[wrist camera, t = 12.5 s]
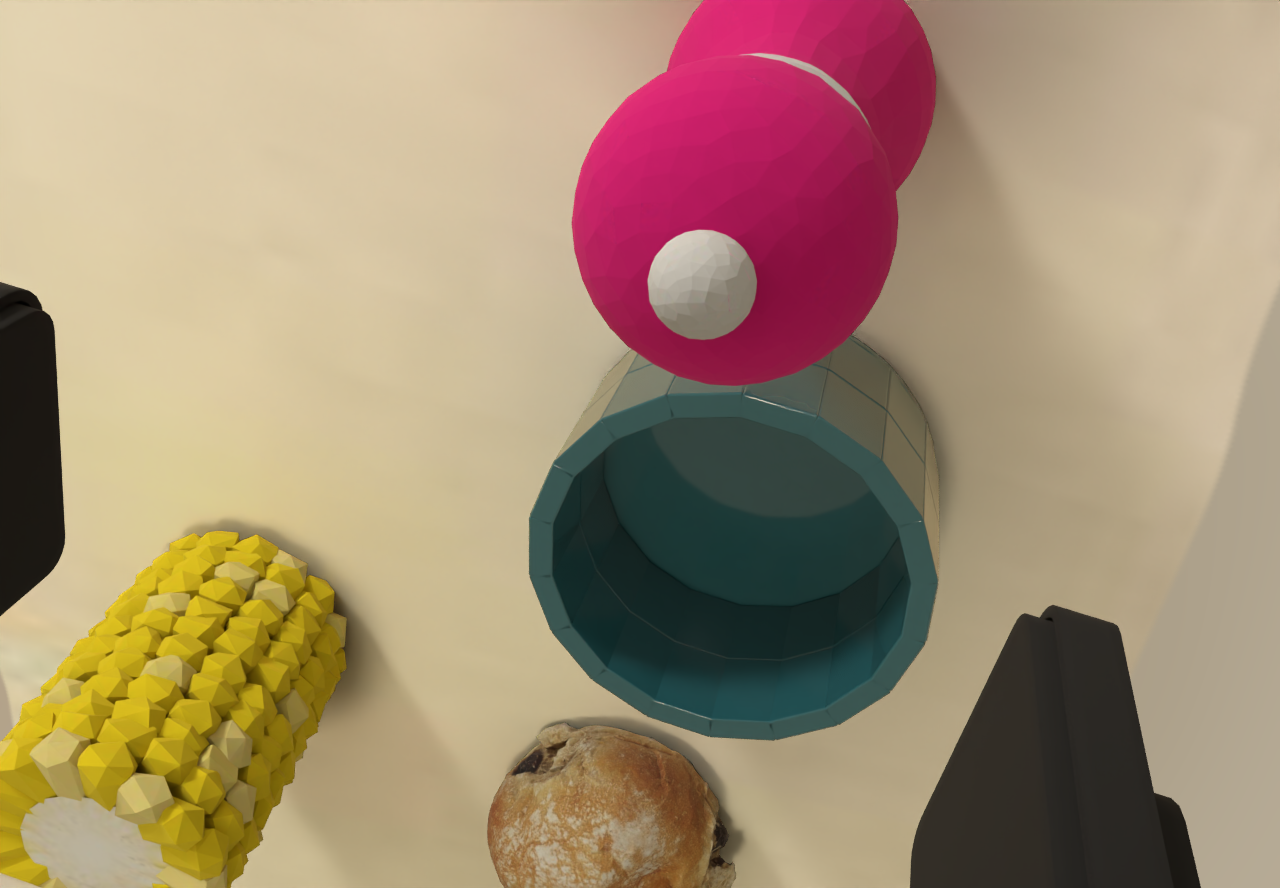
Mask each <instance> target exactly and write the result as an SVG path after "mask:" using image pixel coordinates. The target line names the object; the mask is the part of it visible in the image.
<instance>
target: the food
mask: <svg viewBox="0 0 1280 888" xmlns="http://www.w3.org/2000/svg"><path fill="white" fill-rule="evenodd" d="M307 566H308V564H307V563H305V562H303V561H301V560H299V559H297V558H295V557H293V556H291V555H289V554H287V553H286V552H284V551H282V550H280V549H278V547H277V546H275V545H273V544H272V543H270V542H268V541H267V540H265V539H263V538H262V537H260V536H259V535H254V536H252V537H249V538H247V539H244V540H241V541H239V533H235V532H225V531H214V532H207V533H206V534H205V535H204V536H203V537H202V538H201V537H200V536H198V535H196V534H194V533H193V534H191V535H189V536H186V537H184V538H182V539H179V540H177V541H175V542H172V543H170V552H165V553H164V554H162V555H161V556H159V557H158V558H156V559H155V560H153V565H152V566H150V567H147V568H146V569H144V570H143V571H142V572H140V573H139V574H137V576H136V581H135V584H134V585H133V586H132V587H130V588H129V589H128V590H126V591H125V592H124V593H122V594H121V595H119V597H118V600H117V601H116V602H115V603H114V604H113V605H112V606H111V607H110V608H109V609H108V610H107V611H106V612H105V616H106V619H104V620H103V621H101V622H100V623H98V624H97V625H95V626H94V627H93V628H92V629H90V630H89V637H88V638H84V639H81V640H78V641H77V643H76V644H75V646H74V648H73V649H72V651H71V653H70V656H69V657H67V658H66V659H65V660H64V661H63V662H62V664H61V665H60V666H59V667H58V668H57V674H55V675H54V676H53V677H52V678H51V679H50V680H49V681H47V682H46V683H45V684H44V685H43V686H42V687H41V693H42V695H41V696H39V697H37V698H35V699H33V700H31V701H29V702H26V703H24V704H23V705H22V710H21V715H20V721H19V722H18V723H17V724H16V726H15V727H14V728H13V729H12V730H11V731H10V732H9V734H7V736H6V737H5V738H4V739H3V740H2V741H1V742H0V873H2V874H5V875H8V876H10V877H13V878H16V879H19V880H22V881H24V882H27V883H30V884H33V885H36V886H39V887H41V888H231V883H232V881H234V880H235V879H236V878H238V877H239V876H240V875H242V874H243V871H244V866H245V864H246V863H247V862H248V858H247V855H246V854H248V853H249V852H251V851H252V850H253V849H255V848H256V847H258V846H259V845H260V842H261V841H262V840H263V837H262V832H261V830H263V828H264V826H265V824H266V822H267V819H268V817H269V815H270V813H271V810H272V808H273V807H275V806H277V805H278V804H280V801H281V796H282V791H283V786H285V785H288V784H290V783H292V782H293V779H294V774H295V762H297V761H298V760H300V759H301V758H303V752H304V750H305V749H307V744H306V739H308V738H309V737H311V736H312V735H314V734H315V733H317V732H318V729H317V728H318V727H319V726H318V722H320V719H321V716H322V713H323V710H324V707H325V704H326V703H327V701H328V700H329V699H330V698H331V695H332V693H333V692H334V691H335V685H336V684H337V683H338V682H339V680H340V679H341V676H340V673H342V672H343V671H344V670H346V669H347V666H346V659H345V652H344V650H343V649H342V647H345V635H346V619H347V618H345V617H343V616H341V615H338V614H336V613H334V612H333V606H334V595H335V592H334V591H333V589H332V588H331V587H330V585H329V584H328V583H327V581H325V580H323V579H320V578H317V577H314V576H311V575H309V576H307V577H306V574H307Z"/></svg>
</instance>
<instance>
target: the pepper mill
mask: <svg viewBox="0 0 1280 888" xmlns="http://www.w3.org/2000/svg"><path fill="white" fill-rule="evenodd" d="M935 96H936V75H935V70H934V64H933V59H932V54H931V49H930V47H929V44H928V41H927V39H926V36H925V33H924V31H923V29H922V27H921V25H920V24H919V22H918V20H917V18H916V17H915V15H914V13H913V11H912V10H911V9H910V8H909V6H908V5H907V4H906V3H905V2H904V1H903V0H704V1H703V2H702V3H701V5H700V6H699V7H698V8H697V9H696V11H695V12H694V13H693V15H692V16H691V18H690V20H689V21H688V23H687V25H686V26H685V28H684V30H683V31H682V33H681V35H680V37H679V38H678V40H677V43H676V45H675V48H674V50H673V52H672V55H671V57H670V61H669V65H668V69H667V72H665V73H663V74H661V75H659V76H657V77H656V78H654V79H653V80H651V81H650V82H649V83H647V84H646V85H644V86H643V87H641V88H640V89H639V90H637V91H636V92H634V93H633V94H631V95H630V96H629V97H627V99H626V100H625V101H624V102H623V103H622V104H621V106H620V107H619V108H618V109H617V110H616V111H615V112H614V114H613V115H612V116H611V117H610V118H609V119H608V121H607V122H606V124H605V125H604V126H603V128H602V129H601V131H600V132H599V134H598V135H597V137H596V138H595V139H594V141H593V143H592V145H591V147H590V149H589V152H588V154H587V156H586V158H585V160H584V163H583V165H582V168H581V172H580V176H579V180H578V184H577V188H576V192H575V200H574V208H573V217H572V230H573V240H574V250H575V254H576V258H577V261H578V265H579V269H580V272H581V276H582V280H583V282H584V284H585V286H586V289H587V291H588V293H589V295H590V297H591V299H592V302H593V304H594V306H595V307H596V308H597V310H598V311H599V313H600V314H601V316H602V317H603V318H604V320H605V321H606V323H607V324H608V326H609V327H610V328H611V329H612V330H613V331H614V332H615V333H616V334H617V336H618V337H619V338H620V339H621V340H622V341H623V342H624V343H625V344H626V345H627V346H628V347H630V348H631V349H632V350H634V351H635V352H637V353H638V354H639V355H641V356H642V357H644V358H645V359H646V360H648V361H649V362H651V363H652V364H654V365H656V366H658V367H660V368H662V369H664V370H666V371H668V372H670V373H672V374H674V375H676V376H678V377H682V378H686V379H690V380H694V381H697V382H701V383H705V384H711V385H727V386H740V385H748V384H757V383H763V382H767V381H770V380H774V379H777V378H781V377H784V376H787V375H791V374H794V373H797V372H799V371H800V370H802V369H804V368H806V367H808V366H810V365H811V364H813V363H815V362H817V361H819V360H821V359H822V358H824V357H825V356H826V355H828V354H829V353H830V352H832V351H833V350H834V349H836V348H837V347H838V346H840V345H841V344H842V343H844V342H845V340H846V339H847V338H848V337H849V336H850V335H851V334H852V333H853V332H854V330H855V329H856V328H857V327H858V326H859V325H860V324H861V323H862V321H863V320H864V319H865V318H866V316H867V314H868V313H869V311H870V310H871V308H872V307H873V305H874V304H875V302H876V300H877V299H878V297H879V295H880V293H881V290H882V288H883V285H884V283H885V280H886V278H887V276H888V273H889V270H890V266H891V262H892V259H893V255H894V251H895V247H896V242H897V229H898V210H897V199H896V191H897V189H898V188H899V187H900V185H901V184H902V183H903V182H904V180H905V179H906V178H907V177H908V175H909V174H910V172H911V170H912V169H913V167H914V165H915V163H916V161H917V160H918V158H919V156H920V154H921V152H922V149H923V147H924V144H925V141H926V139H927V136H928V133H929V130H930V127H931V124H932V119H933V113H934V108H935Z"/></svg>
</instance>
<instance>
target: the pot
mask: <svg viewBox="0 0 1280 888" xmlns="http://www.w3.org/2000/svg"><path fill="white" fill-rule="evenodd" d="M529 575H530V579H531V581H532V584H533V586H534V589H535V592H536V594H537V597H538V599H539V602H540V604H541V607H542V609H543V612H544V614H545V617H546V620H547V622H548V625H549V627H550V630H551V631H552V633H553V634H554V635H555V637H556V638H557V639H558V640H559V641H560V643H561V644H562V645H563V646H564V647H565V649H566V650H567V651H568V652H569V653H570V655H571V656H572V657H573V658H574V659H575V660H576V662H577V663H578V664H579V665H580V666H581V668H582V669H583V670H584V671H585V672H586V674H587V675H588V676H589V677H590V678H591V679H593V681H595V682H596V683H598V684H599V685H601V686H602V687H604V688H605V689H607V690H608V691H610V692H611V693H613V694H614V695H616V696H617V697H619V698H620V699H622V700H623V701H625V702H626V703H628V704H629V705H631V706H632V707H634V708H635V709H637V710H638V711H640V712H641V713H643V714H644V715H647V717H650V718H653V719H656V720H659V721H662V722H665V723H668V724H671V725H674V726H677V727H680V728H684V729H687V730H690V731H693V732H696V733H699V734H702V735H705V736H708V737H709V736H710V737H718V738H736V739H755V740H773V741H774V740H775V739H776V740H779V739H783V738H787V737H792V736H796V735H800V734H804V733H808V732H813V731H817V730H821V729H825V728H830V727H834V726H837V725H840V724H841V723H843V722H845V721H846V720H848V719H849V718H851V717H852V716H854V715H856V714H857V713H859V712H860V711H862V710H864V709H865V708H867V707H868V706H870V705H872V704H873V703H875V702H876V701H878V700H879V699H881V698H883V697H884V696H886V695H887V694H889V693H890V691H891V690H893V688H894V687H895V685H896V684H897V683H898V681H899V680H900V679H901V677H902V676H903V674H904V673H905V672H906V670H907V669H908V667H909V666H910V665H911V663H912V662H913V661H914V659H915V658H916V656H917V655H918V654H919V652H920V651H921V649H922V648H923V647H924V645H925V642H926V641H927V638H928V633H929V628H930V623H931V618H932V614H933V609H934V604H935V599H936V594H937V589H938V581H939V473H938V468H937V464H936V458H935V451H934V445H933V441H932V437H931V434H930V431H929V427H928V423H927V421H926V419H925V417H924V415H923V413H922V411H921V408H920V406H919V404H918V402H917V401H916V399H915V397H914V396H913V394H912V393H911V391H910V390H909V388H908V387H907V385H906V384H905V382H904V381H903V380H902V379H901V378H900V377H899V375H898V374H897V373H896V372H895V371H894V370H893V368H892V367H891V366H890V365H889V364H888V363H887V362H886V361H884V360H883V359H882V358H881V357H880V356H879V355H878V354H877V353H875V352H874V351H873V350H872V349H871V348H869V347H868V346H866V345H865V344H863V343H862V342H861V341H859V340H858V339H856V338H855V337H853V336H852V335H850V336H849V337H848V338H847V339H846V340H845V342H844V343H842V344H841V345H840V346H838V347H837V348H836V349H834V350H833V351H832V352H830V353H829V354H828V355H826V356H825V357H824V358H822V359H821V360H819V361H817V362H815V363H813V364H811V365H810V366H808V367H806V368H804V369H802V370H800V371H799V372H797V373H794V374H791V375H787V376H784V377H781V378H777V379H774V380H770V381H767V382H763V383H757V384H748V385H740V386H727V385H711V384H705V383H701V382H697V381H694V380H690V379H686V378H682V377H678V376H676V375H674V374H672V373H670V372H668V371H666V370H664V369H662V368H660V367H658V366H656V365H654V364H652V363H651V362H649V361H648V360H646V359H645V358H644V357H642V356H641V355H639V354H638V353H637V352H635V351H634V350H632V349H631V350H630V351H629V352H628V353H627V354H626V355H625V356H624V358H623V359H622V360H621V361H620V362H619V363H618V364H617V365H616V366H615V367H614V368H613V369H612V370H611V371H610V372H609V373H608V374H607V375H606V376H605V378H604V380H603V381H602V383H601V384H600V386H599V388H598V389H597V391H596V393H595V394H594V396H593V398H592V399H591V401H590V403H589V404H588V406H587V407H586V409H585V411H584V412H583V414H582V416H581V418H580V419H579V421H578V422H577V424H576V426H575V427H574V429H573V431H572V432H571V434H570V436H569V437H568V439H567V440H566V442H565V444H564V445H563V447H562V449H561V450H560V452H559V454H558V455H557V457H556V459H555V460H554V462H553V463H552V466H551V468H550V470H549V472H548V475H547V477H546V479H545V482H544V484H543V486H542V488H541V491H540V493H539V495H538V497H537V500H536V502H535V504H534V507H533V509H532V511H531V513H530V517H529Z"/></svg>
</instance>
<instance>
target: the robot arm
mask: <svg viewBox="0 0 1280 888" xmlns="http://www.w3.org/2000/svg"><path fill="white" fill-rule="evenodd" d="M64 544H65V525H64V505H63V486H62V466H61V447H60V428H59V408H58V389H57V369H56V350H55V330H54V325H53V321H52V319H51V317H50V315H48V314H47V313H46V312H44V311H42V306H41V304H40V302H39V300H38V298H37V296H35V295H34V294H33V293H31V292H30V291H28V290H24V289H21V288H18V287H15V286H11V285H8V284H5V283H2V282H0V616H1V615H2V614H3V613H4V612H6V611H7V610H8V609H9V608H10V607H11V606H13V605H14V604H15V603H16V602H17V601H18V600H20V599H21V598H22V597H23V596H24V595H25V594H27V593H28V592H29V591H30V590H31V589H32V588H34V587H35V586H36V585H37V584H38V583H39V582H41V581H42V580H43V579H44V578H45V577H46V576H47V575H48V574H49V573H50V572H51V571H52V570H53V569H54V567H55V566H56V564H57V563H58V561H59V559H60V557H61V554H62V552H63V548H64ZM0 888H41V887H39V886H36V885H33V884H30V883H27V882H24V881H22V880H19V879H16V878H13V877H10V876H8V875H5V874H2V873H0ZM910 888H1201V886H1200V882H1199V878H1198V874H1197V869H1196V865H1195V860H1194V856H1193V852H1192V848H1191V844H1190V839H1189V835H1188V831H1187V826H1186V822H1185V819H1184V817H1183V814H1182V812H1181V809H1180V807H1179V805H1177V803H1176V802H1174V801H1173V800H1172V799H1171V798H1169V797H1165V796H1162V795H1159V794H1156V793H1154V791H1153V786H1152V781H1151V777H1150V772H1149V768H1148V762H1147V757H1146V753H1145V748H1144V743H1143V738H1142V734H1141V729H1140V724H1139V719H1138V714H1137V709H1136V705H1135V700H1134V695H1133V690H1132V686H1131V681H1130V676H1129V671H1128V666H1127V662H1126V657H1125V652H1124V647H1123V642H1122V638H1121V633H1120V631H1119V628H1118V626H1117V625H1115V624H1113V623H1110V622H1107V621H1104V620H1101V619H1097V618H1094V617H1091V616H1088V615H1084V614H1081V613H1078V612H1075V611H1071V610H1068V609H1065V608H1062V607H1058V606H1055V605H1052V606H1049V607H1048V608H1047V609H1046V610H1045V611H1044V612H1043V613H1042V615H1041V617H1040V618H1038V617H1035V616H1032V615H1029V614H1022V615H1021V616H1020V617H1019V618H1018V620H1017V621H1016V623H1015V625H1014V627H1013V629H1012V631H1011V633H1010V635H1009V637H1008V639H1007V641H1006V643H1005V645H1004V647H1003V649H1002V651H1001V654H1000V656H999V658H998V660H997V662H996V664H995V666H994V668H993V670H992V672H991V674H990V676H989V678H988V680H987V683H986V685H985V687H984V689H983V691H982V693H981V695H980V697H979V699H978V701H977V703H976V705H975V707H974V709H973V712H972V714H971V716H970V718H969V720H968V722H967V724H966V726H965V728H964V730H963V732H962V734H961V736H960V738H959V741H958V743H957V745H956V747H955V749H954V751H953V753H952V755H951V757H950V759H949V761H948V763H947V765H946V767H945V770H944V772H943V774H942V776H941V778H940V780H939V782H938V784H937V786H936V788H935V790H934V792H933V794H932V796H931V799H930V801H929V803H928V805H927V807H926V809H925V811H924V813H923V815H922V817H921V820H920V822H919V825H918V828H917V831H916V835H915V839H914V843H913V849H912V856H911V877H910Z"/></svg>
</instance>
